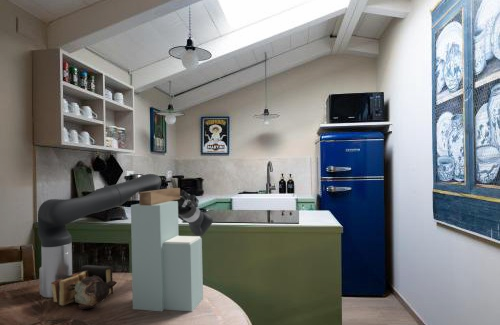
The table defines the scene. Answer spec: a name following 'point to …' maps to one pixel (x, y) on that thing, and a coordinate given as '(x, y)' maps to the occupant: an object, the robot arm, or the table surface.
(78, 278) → the bookend
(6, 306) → the table surface
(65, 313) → the table surface
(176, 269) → the stand
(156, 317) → the table surface
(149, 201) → the walnut bar
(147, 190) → the robot arm
